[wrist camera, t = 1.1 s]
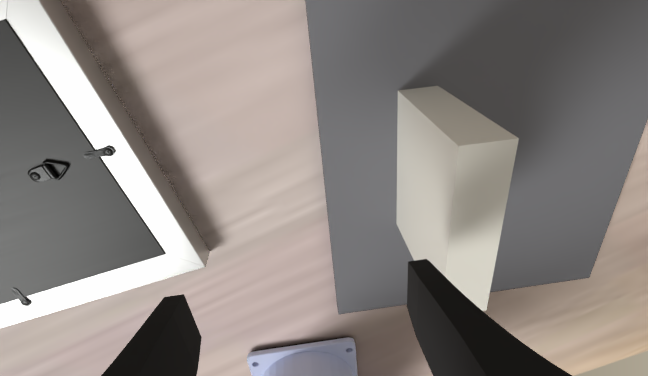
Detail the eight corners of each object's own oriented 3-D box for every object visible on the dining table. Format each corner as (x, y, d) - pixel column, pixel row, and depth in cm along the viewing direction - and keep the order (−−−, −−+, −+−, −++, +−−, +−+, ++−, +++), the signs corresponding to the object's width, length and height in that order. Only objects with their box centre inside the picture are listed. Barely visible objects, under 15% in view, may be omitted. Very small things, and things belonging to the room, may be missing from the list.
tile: (429, 219, 22) (486, 310, 16) (396, 223, 22) (441, 317, 16) (437, 85, 18) (518, 138, 12) (397, 90, 18) (458, 145, 12)
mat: (583, 271, 26) (589, 277, 26) (337, 307, 25) (338, 314, 25) (720, -118, 15) (735, -121, 15) (297, -76, 15) (297, -78, 14)
